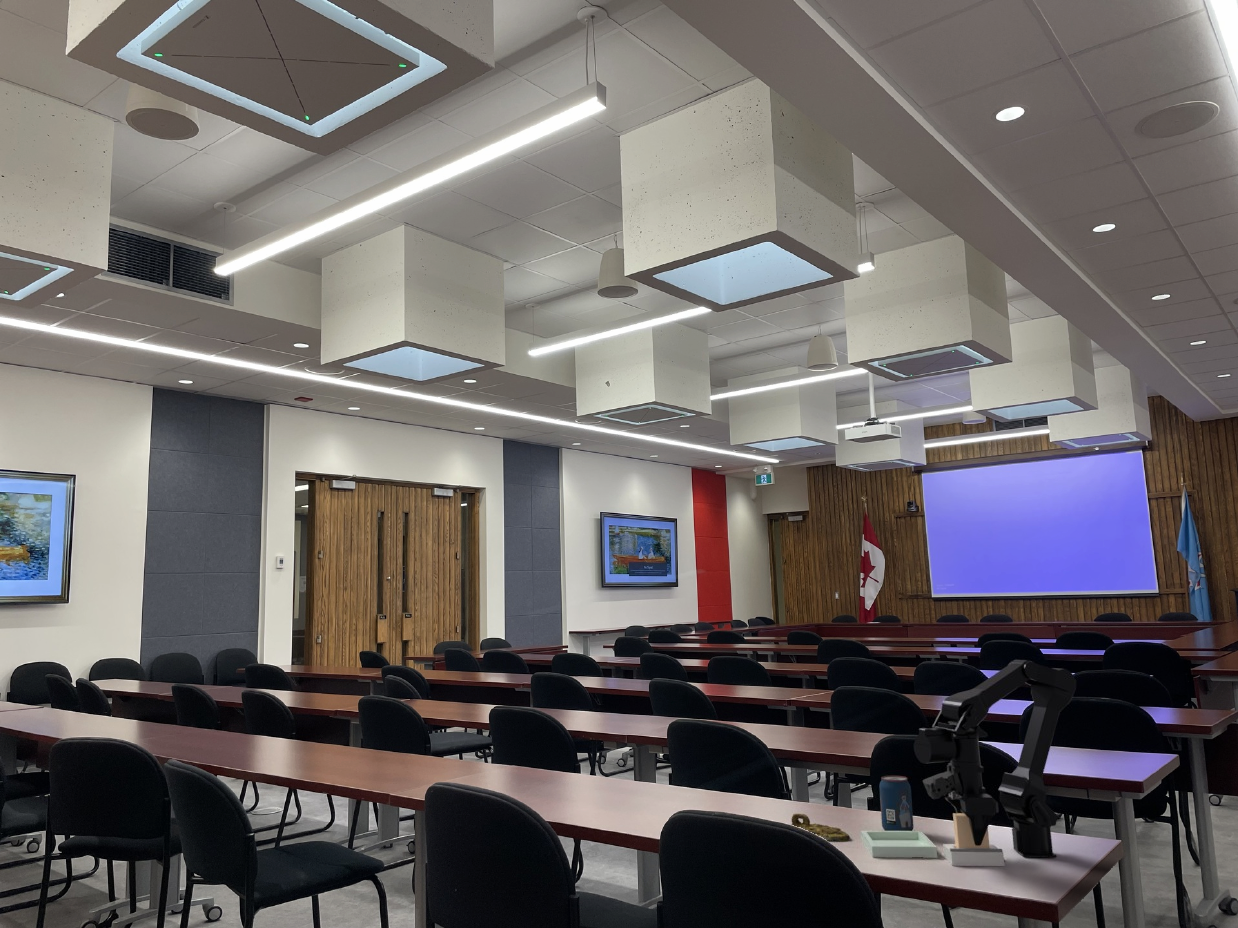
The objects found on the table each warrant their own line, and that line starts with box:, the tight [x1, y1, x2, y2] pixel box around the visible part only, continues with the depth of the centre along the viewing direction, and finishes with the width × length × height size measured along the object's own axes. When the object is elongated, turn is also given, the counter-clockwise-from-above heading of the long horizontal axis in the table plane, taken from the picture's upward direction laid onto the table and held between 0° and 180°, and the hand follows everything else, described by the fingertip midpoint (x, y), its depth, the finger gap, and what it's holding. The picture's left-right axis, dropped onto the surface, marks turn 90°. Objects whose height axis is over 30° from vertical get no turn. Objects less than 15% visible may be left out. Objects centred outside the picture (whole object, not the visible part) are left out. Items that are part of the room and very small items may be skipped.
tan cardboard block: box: [952, 812, 990, 849], centre depth 175 cm, size 6×2×9 cm, turn 84°
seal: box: [790, 813, 851, 842], centre depth 197 cm, size 9×5×15 cm
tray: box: [860, 830, 938, 859], centre depth 184 cm, size 13×13×2 cm
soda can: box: [878, 775, 915, 831], centre depth 199 cm, size 7×7×12 cm
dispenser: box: [942, 843, 1005, 867], centre depth 174 cm, size 10×6×3 cm, turn 84°
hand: (971, 840), depth 175 cm, fingers open, 7 cm apart
